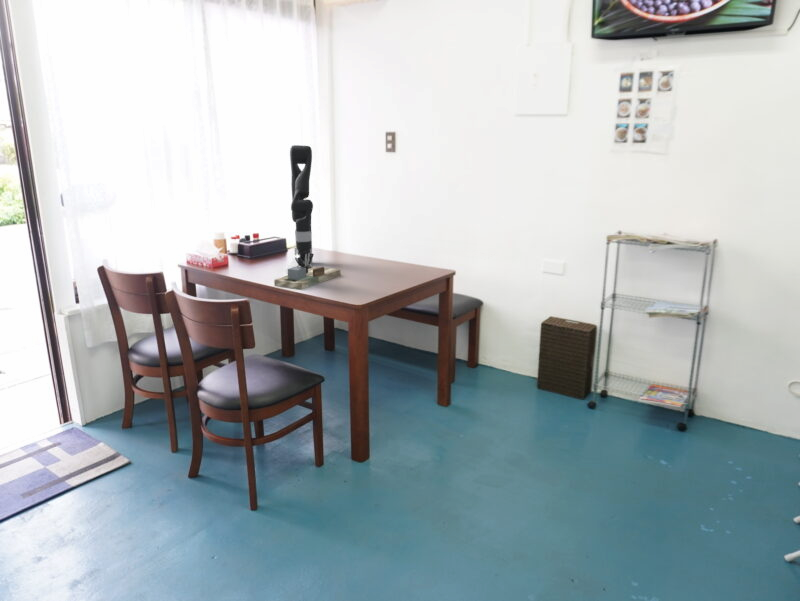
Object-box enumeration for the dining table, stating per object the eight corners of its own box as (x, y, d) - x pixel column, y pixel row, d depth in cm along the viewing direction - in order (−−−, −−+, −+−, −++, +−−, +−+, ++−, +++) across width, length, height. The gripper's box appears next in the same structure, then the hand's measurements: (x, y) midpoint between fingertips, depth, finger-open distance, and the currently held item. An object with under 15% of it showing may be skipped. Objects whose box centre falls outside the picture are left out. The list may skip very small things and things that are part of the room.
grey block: (287, 278, 282) (287, 268, 280) (296, 276, 288) (296, 266, 286) (297, 280, 279) (297, 270, 278) (306, 277, 285) (305, 267, 284)
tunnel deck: (274, 285, 281) (273, 272, 279) (316, 271, 311) (315, 260, 309) (300, 289, 274) (300, 276, 272) (340, 275, 304) (340, 263, 302)
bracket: (299, 251, 325) (306, 258, 306) (310, 264, 329) (317, 272, 311) (281, 266, 323) (287, 273, 305) (292, 279, 327) (298, 287, 309)
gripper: (305, 237, 291) (307, 270, 296) (289, 241, 279) (291, 275, 284) (317, 238, 287) (318, 271, 292) (301, 242, 276) (303, 277, 281)
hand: (305, 273), depth 288 cm, fingers closed
